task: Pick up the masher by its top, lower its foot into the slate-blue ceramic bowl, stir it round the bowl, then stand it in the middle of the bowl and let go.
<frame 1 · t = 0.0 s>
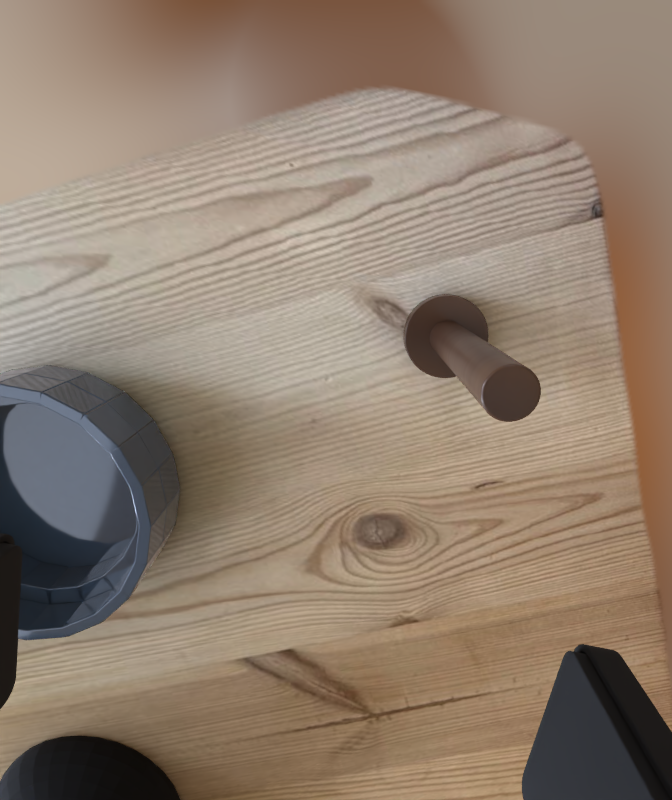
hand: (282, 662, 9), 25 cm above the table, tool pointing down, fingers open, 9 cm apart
bowl: (67, 478, 37), on the table
masher: (443, 334, 33), on the table
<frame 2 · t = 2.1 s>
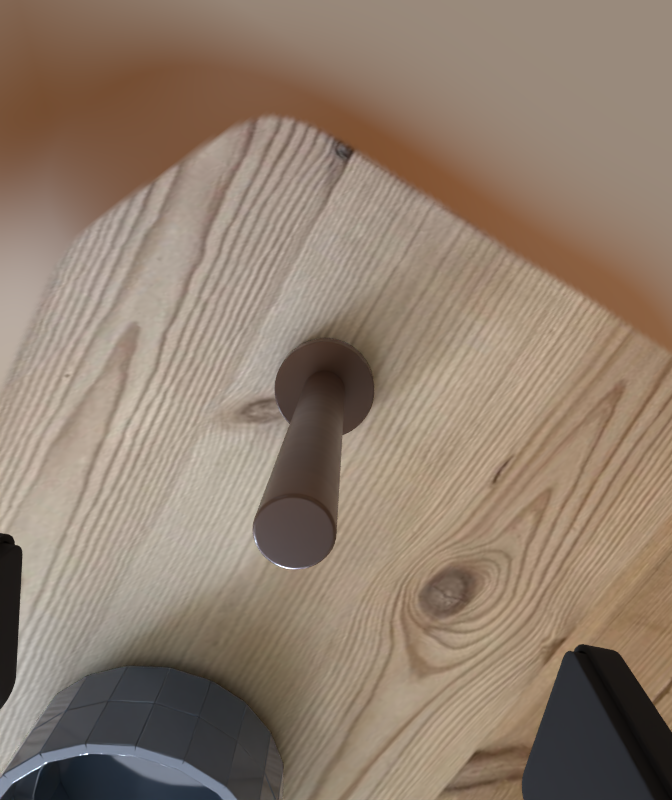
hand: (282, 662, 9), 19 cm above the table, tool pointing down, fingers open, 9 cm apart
bowl: (161, 761, 34), on the table
masher: (325, 385, 28), on the table
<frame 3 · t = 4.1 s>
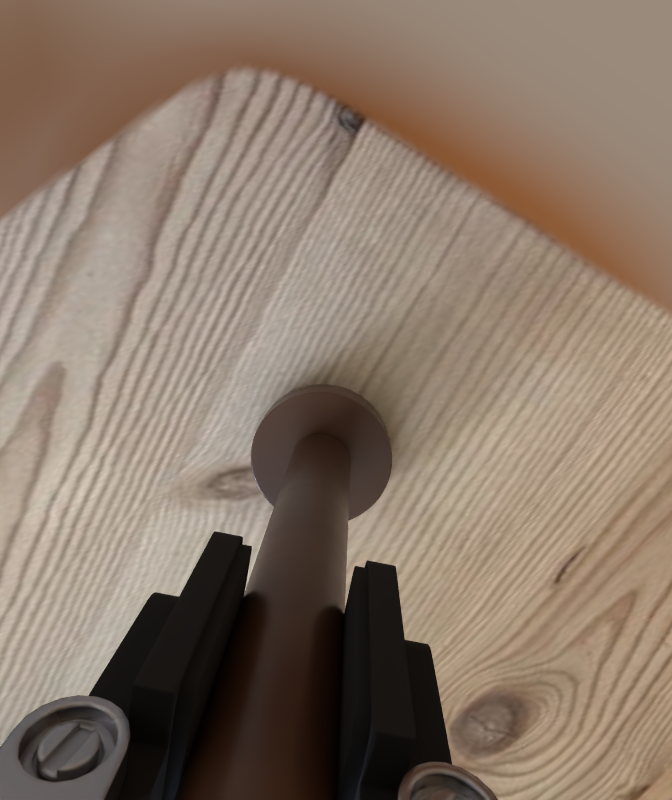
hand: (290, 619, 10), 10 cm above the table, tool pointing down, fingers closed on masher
masher: (323, 449, 20), on the table, touching gripper
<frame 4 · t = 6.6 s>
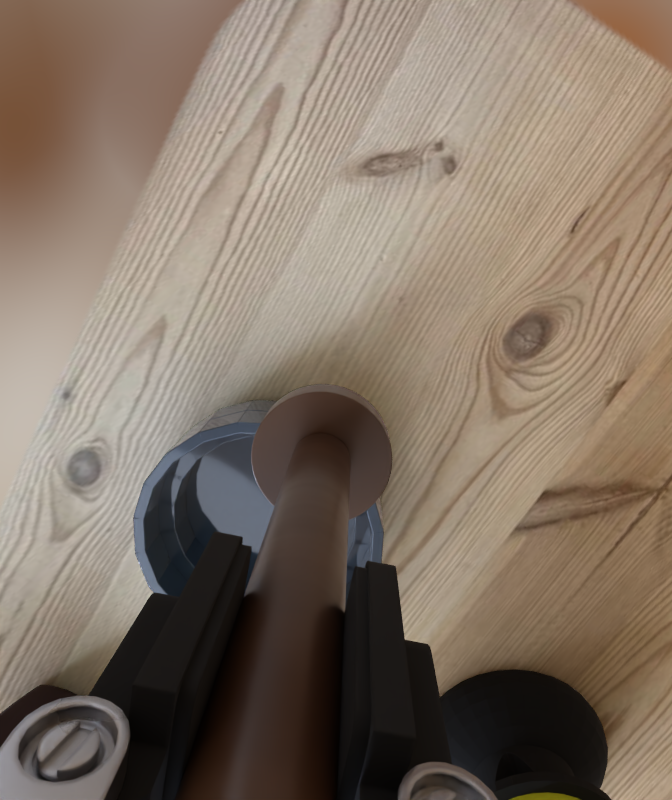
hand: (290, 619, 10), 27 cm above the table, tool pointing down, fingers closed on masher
mug: (81, 724, 46), on the table
lantern: (511, 745, 45), on the table
bowl: (272, 500, 40), on the table
masher: (323, 448, 20), point 18 cm above the table, touching gripper
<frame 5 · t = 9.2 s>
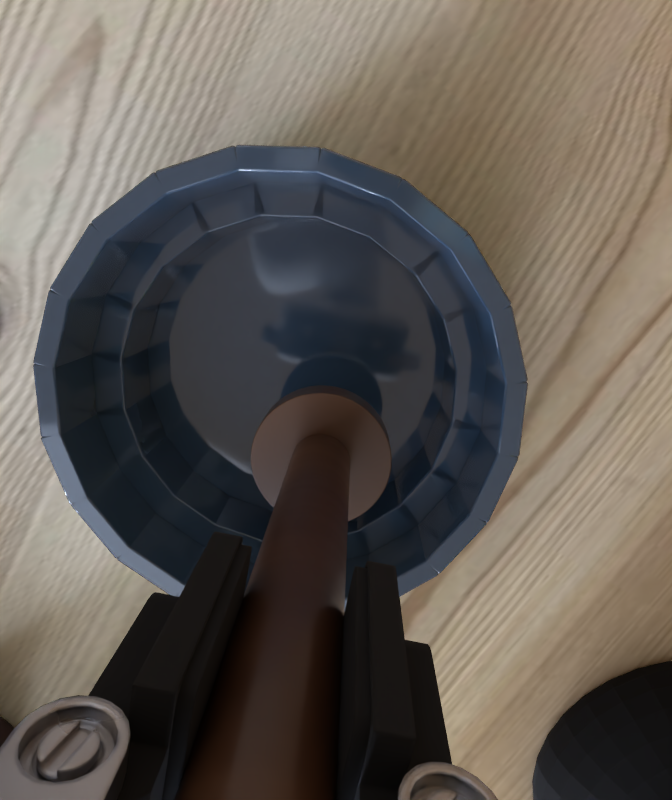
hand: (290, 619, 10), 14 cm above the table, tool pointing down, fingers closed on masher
bowl: (297, 372, 23), on the table
masher: (322, 450, 20), point 4 cm above the table, touching gripper
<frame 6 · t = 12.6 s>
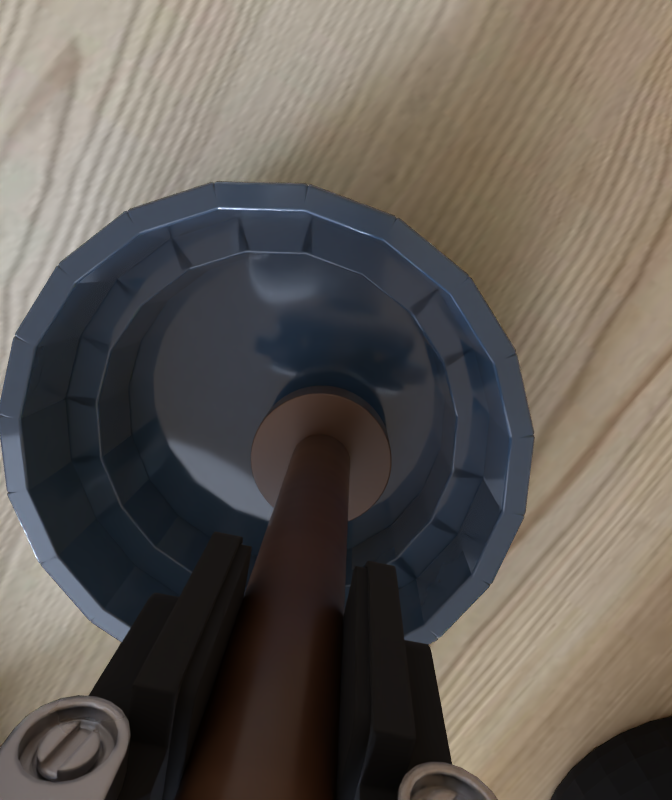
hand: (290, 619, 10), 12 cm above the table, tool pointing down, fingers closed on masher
bowl: (287, 411, 22), on the table
masher: (322, 450, 20), point 2 cm above the table, touching gripper
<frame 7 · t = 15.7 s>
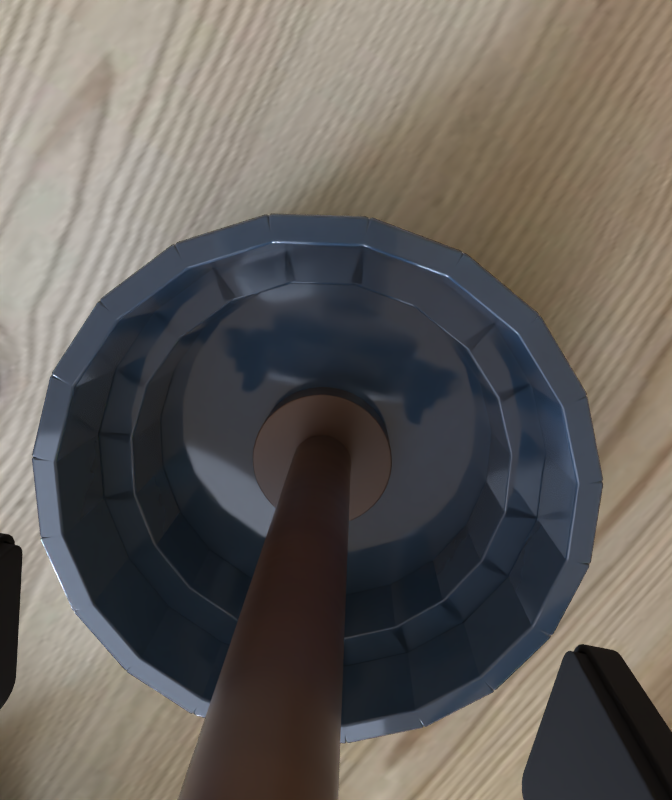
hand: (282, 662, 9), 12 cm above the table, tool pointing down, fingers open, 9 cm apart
bowl: (325, 441, 21), on the table
masher: (323, 450, 20), point 1 cm above the table, touching bowl
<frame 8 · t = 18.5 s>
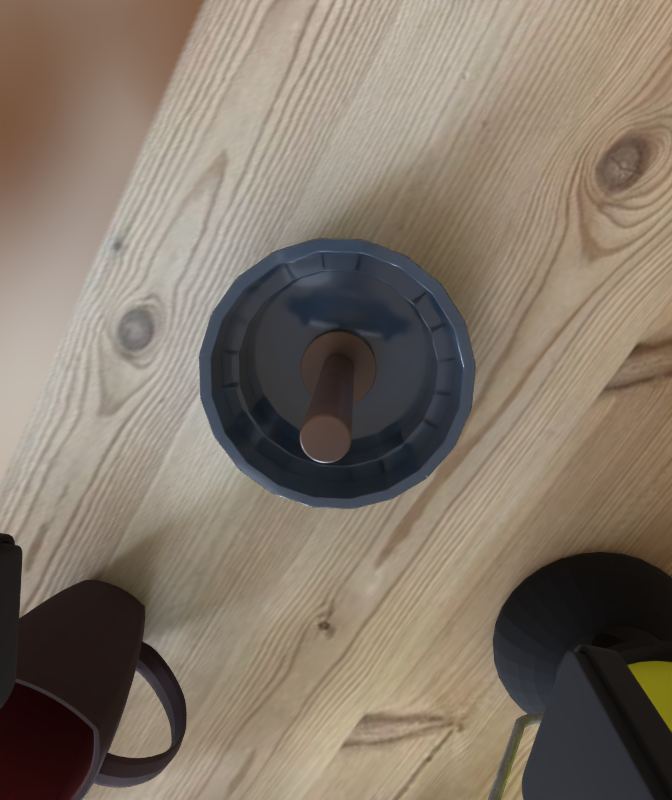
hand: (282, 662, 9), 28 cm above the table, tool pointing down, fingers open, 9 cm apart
mug: (129, 625, 43), on the table
lantern: (593, 639, 41), on the table
bowl: (339, 362, 37), on the table
masher: (338, 366, 36), point 1 cm above the table, touching bowl
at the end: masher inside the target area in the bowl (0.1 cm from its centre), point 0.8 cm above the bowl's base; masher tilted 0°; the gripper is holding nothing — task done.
